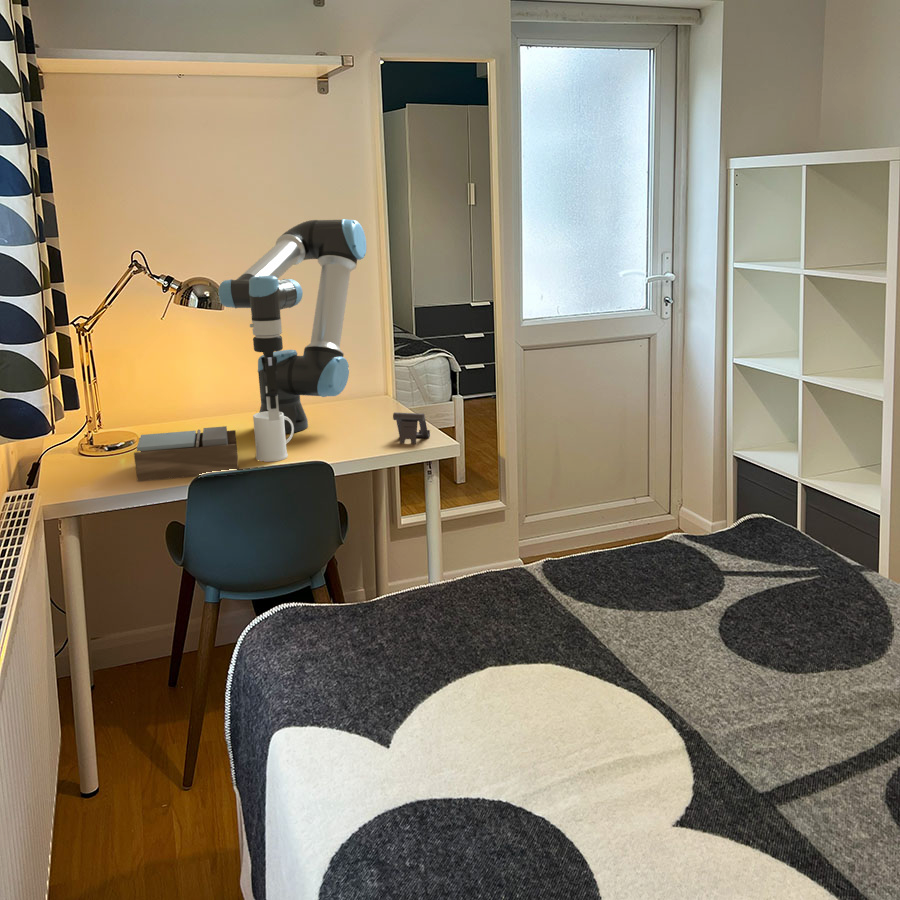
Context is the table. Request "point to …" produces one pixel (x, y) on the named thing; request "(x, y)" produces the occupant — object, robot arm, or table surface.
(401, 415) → the portable electronic device stand
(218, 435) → the trapdoor
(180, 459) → the brown wooden box
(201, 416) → the table surface
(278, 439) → the mug
